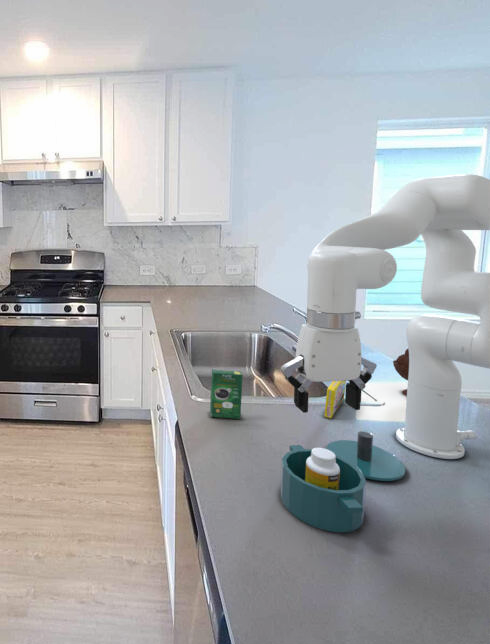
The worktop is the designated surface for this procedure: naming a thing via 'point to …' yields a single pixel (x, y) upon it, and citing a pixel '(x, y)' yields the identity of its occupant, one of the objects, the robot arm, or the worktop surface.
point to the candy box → (334, 397)
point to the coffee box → (226, 394)
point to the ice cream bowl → (403, 366)
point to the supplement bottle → (322, 469)
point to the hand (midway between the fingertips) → (326, 407)
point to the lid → (369, 458)
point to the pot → (323, 494)
